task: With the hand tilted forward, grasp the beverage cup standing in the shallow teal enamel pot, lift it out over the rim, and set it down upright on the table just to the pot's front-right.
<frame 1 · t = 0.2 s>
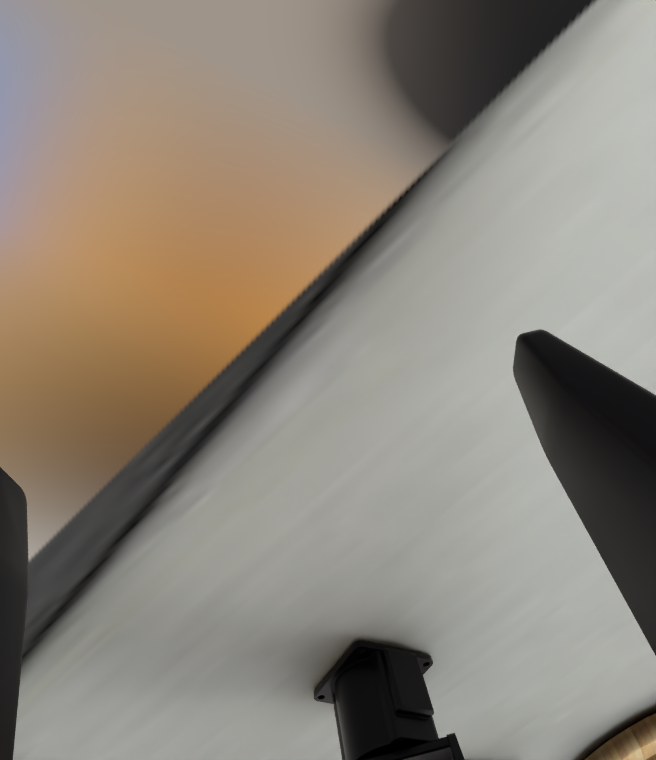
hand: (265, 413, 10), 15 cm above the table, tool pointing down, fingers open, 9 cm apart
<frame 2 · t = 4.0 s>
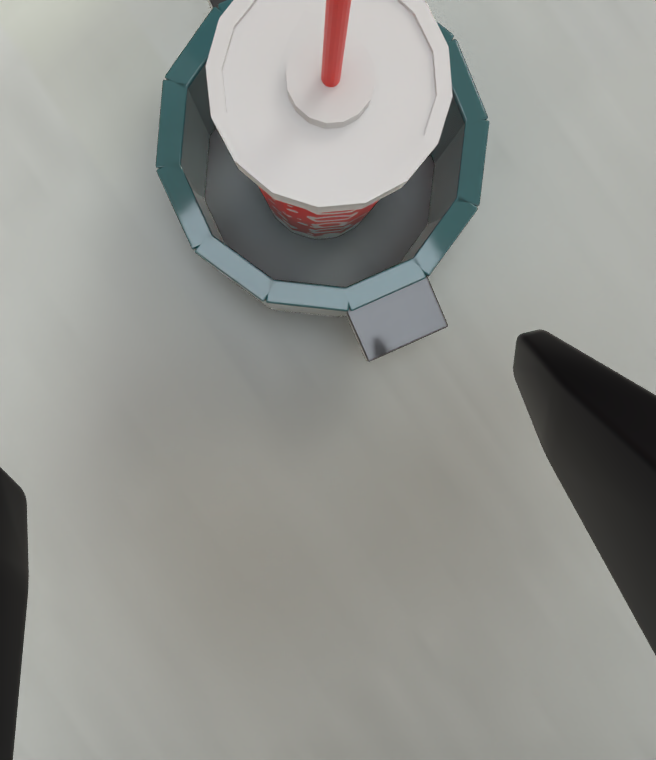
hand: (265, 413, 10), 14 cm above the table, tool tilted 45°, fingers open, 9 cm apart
pot: (320, 181, 23), on the table
beverage cup: (319, 182, 23), resting in pot
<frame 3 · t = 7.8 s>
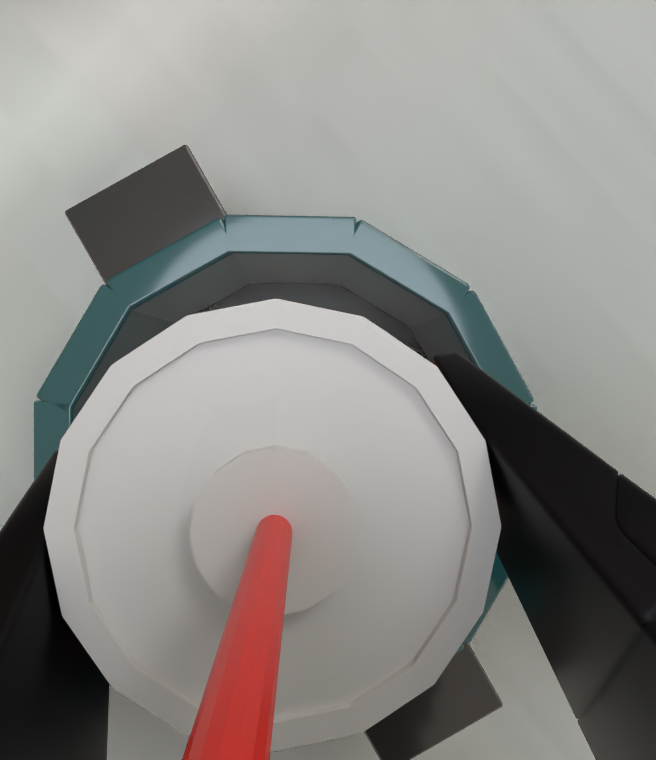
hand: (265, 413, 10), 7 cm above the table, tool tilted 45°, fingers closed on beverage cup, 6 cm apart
pot: (293, 440, 17), on the table
beverage cup: (293, 439, 17), resting in pot, touching gripper
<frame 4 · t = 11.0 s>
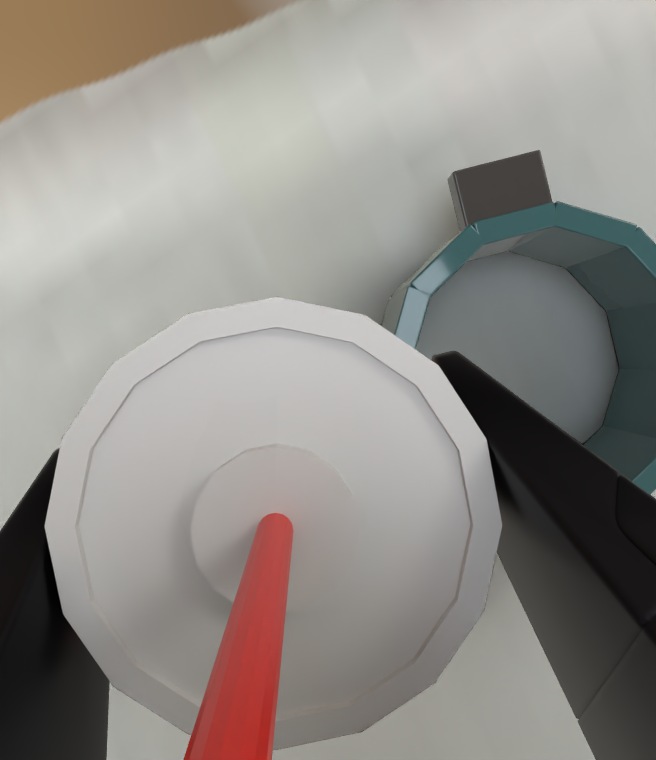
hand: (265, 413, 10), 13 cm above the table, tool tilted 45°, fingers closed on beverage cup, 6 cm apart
pot: (505, 367, 23), on the table
beverage cup: (294, 438, 17), point 6 cm above the table, touching gripper
when the fingers open (7 cm above the table, at t = 14.2 s): beverage cup stays where it is, on the table.
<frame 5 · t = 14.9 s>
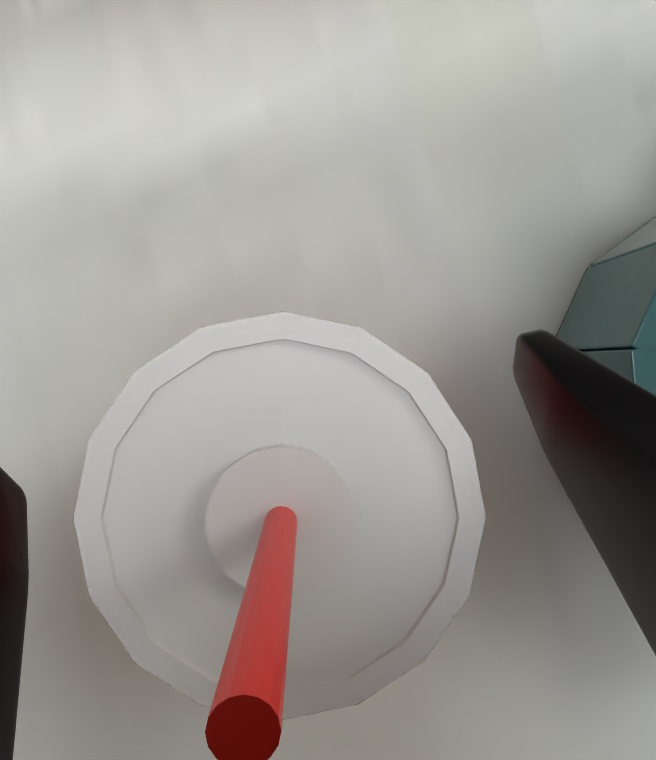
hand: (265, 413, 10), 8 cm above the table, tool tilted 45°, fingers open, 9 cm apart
beverage cup: (296, 438, 18), on the table
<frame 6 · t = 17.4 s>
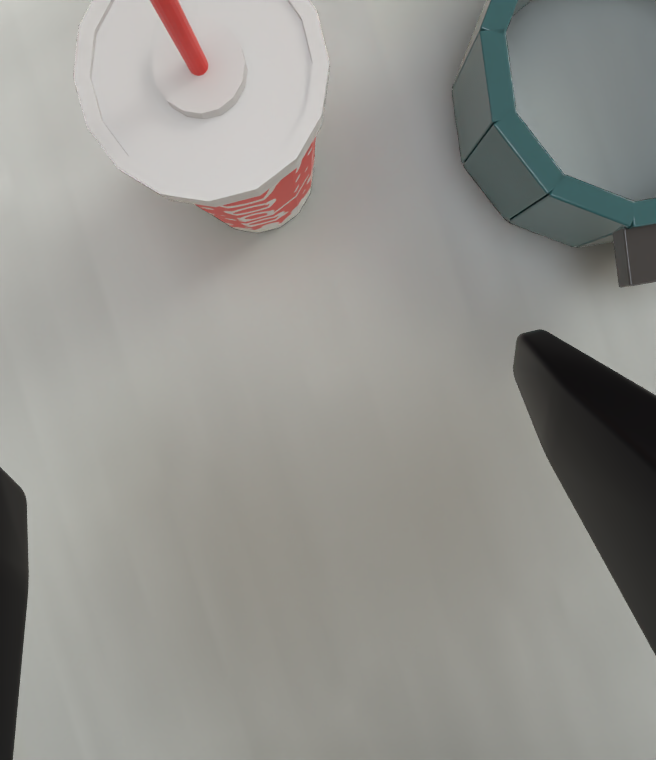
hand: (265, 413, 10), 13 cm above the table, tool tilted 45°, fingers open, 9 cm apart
pot: (593, 103, 22), on the table
beverage cup: (255, 174, 23), on the table
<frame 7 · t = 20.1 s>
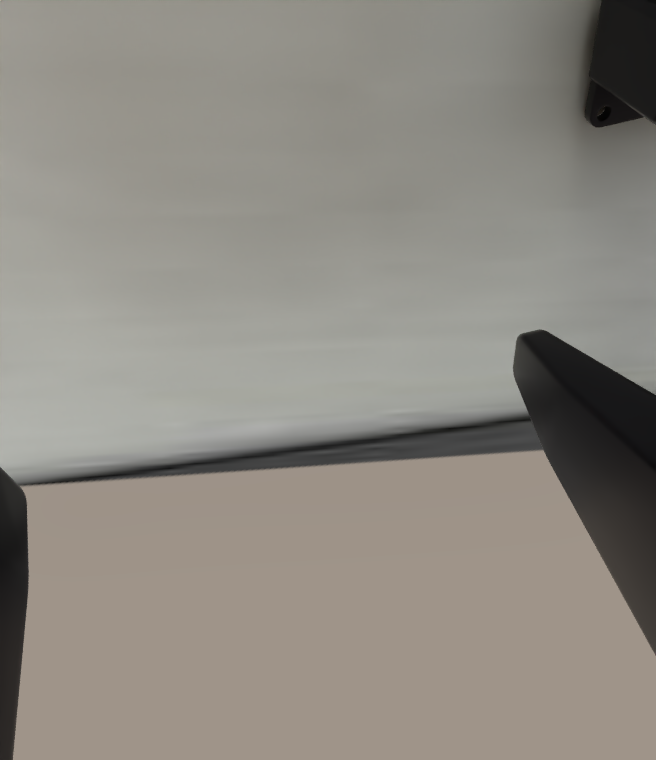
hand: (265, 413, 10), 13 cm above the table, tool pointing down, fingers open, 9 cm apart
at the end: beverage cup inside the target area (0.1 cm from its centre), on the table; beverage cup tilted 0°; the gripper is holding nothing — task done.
